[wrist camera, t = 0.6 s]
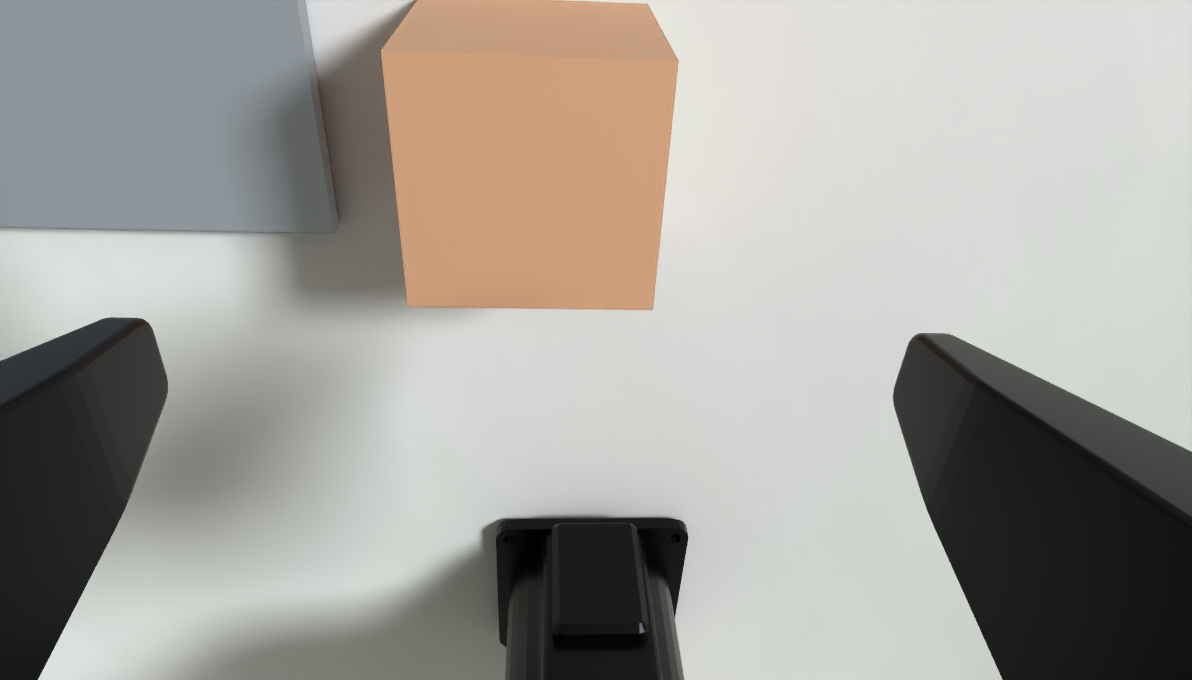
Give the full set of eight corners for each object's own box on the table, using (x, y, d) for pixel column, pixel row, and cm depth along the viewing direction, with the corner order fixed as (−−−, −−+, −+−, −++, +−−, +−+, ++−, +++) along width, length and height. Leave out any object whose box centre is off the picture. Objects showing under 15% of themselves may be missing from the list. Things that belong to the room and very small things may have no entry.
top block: (631, 209, 20) (653, 310, 16) (437, 204, 20) (407, 306, 16) (647, 3, 17) (678, 61, 13) (421, -7, 17) (380, 50, 13)
